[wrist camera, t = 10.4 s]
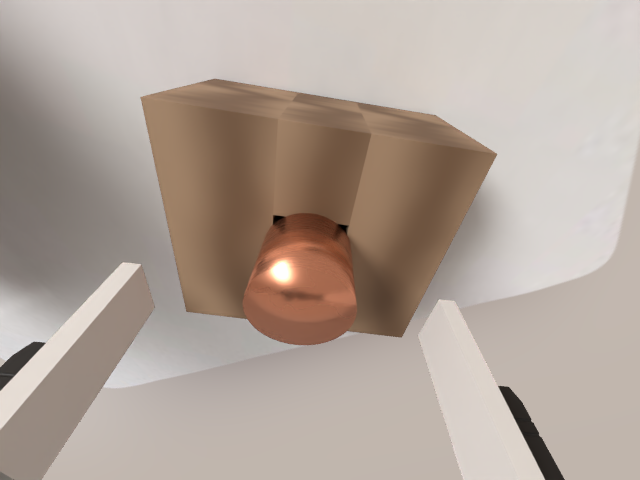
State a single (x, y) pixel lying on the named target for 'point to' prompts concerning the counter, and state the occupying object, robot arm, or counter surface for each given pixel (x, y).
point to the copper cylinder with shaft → (302, 282)
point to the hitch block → (308, 189)
